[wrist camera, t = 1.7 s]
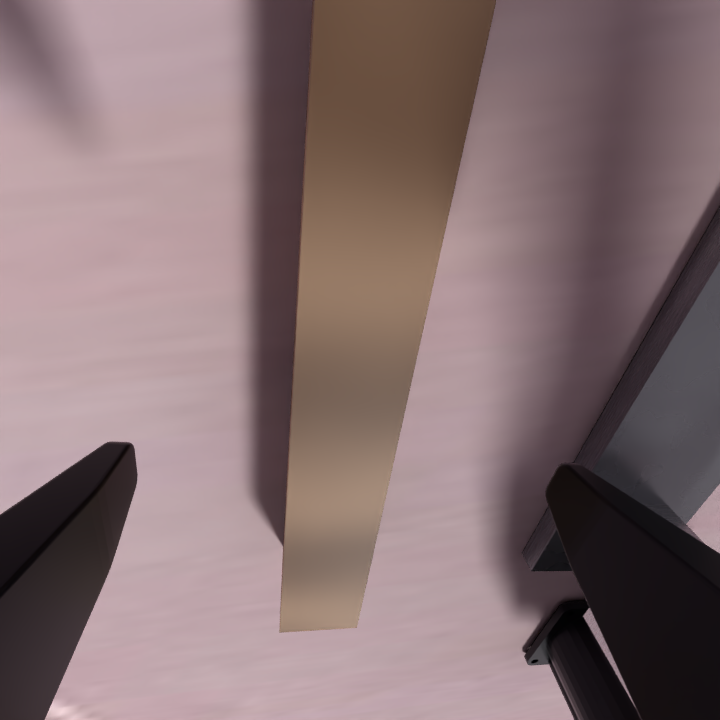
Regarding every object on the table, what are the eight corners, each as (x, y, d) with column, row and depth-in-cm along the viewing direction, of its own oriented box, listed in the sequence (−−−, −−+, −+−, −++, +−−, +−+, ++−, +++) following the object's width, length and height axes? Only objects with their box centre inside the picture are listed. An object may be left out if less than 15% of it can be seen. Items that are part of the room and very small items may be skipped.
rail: (347, 539, 20) (356, 627, 16) (283, 540, 19) (279, 632, 16) (458, -119, 9) (556, -270, 6) (320, -155, 8) (333, -346, 5)
